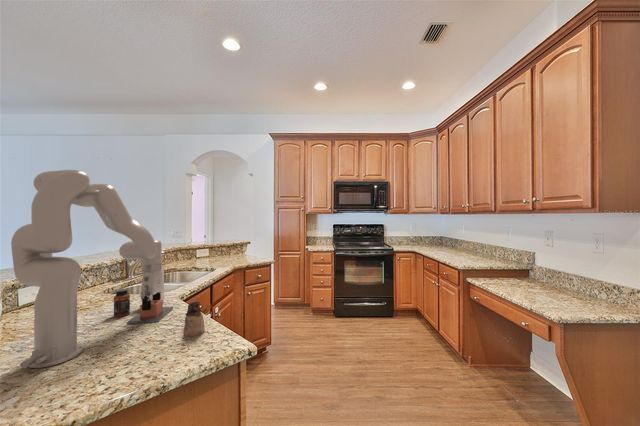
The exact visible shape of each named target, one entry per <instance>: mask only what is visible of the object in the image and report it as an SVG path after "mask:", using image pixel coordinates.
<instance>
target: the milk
mask: <svg viewBox="0 0 640 426" xmlns="http://www.w3.org/2000/svg"><path fill="white" fill-rule="evenodd" d="M164 271H165V266H164V265H162V270H161V273H162V286H163V288H162V290H161V293H160V294H161V300H163V304H164V303H165V272H164ZM147 297H148V296H147ZM150 300H151V301H152V300H153V295H152V294H151V298H150Z"/></svg>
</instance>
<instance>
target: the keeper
mask: <svg viewBox="0 0 640 426" xmlns="http://www.w3.org/2000/svg"><path fill="white" fill-rule="evenodd" d="M151 304H155V303H154V302H151ZM172 310H174V306H165V307H164V306H163V311H162V312H161V313H159V314H158V315H157V316H149V317H140V312H138V313H137V314H135V315H134V316H133V317H132V318H131V319H129V320H128V321H127V322H126V325H136V324H146V323H147V324H148V323H150V324H151V323H159V322H160V321H161V320H163V319H164V318H165V317H166V316H167V315H168V314H169V313H170V312H171V311H172Z"/></svg>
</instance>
